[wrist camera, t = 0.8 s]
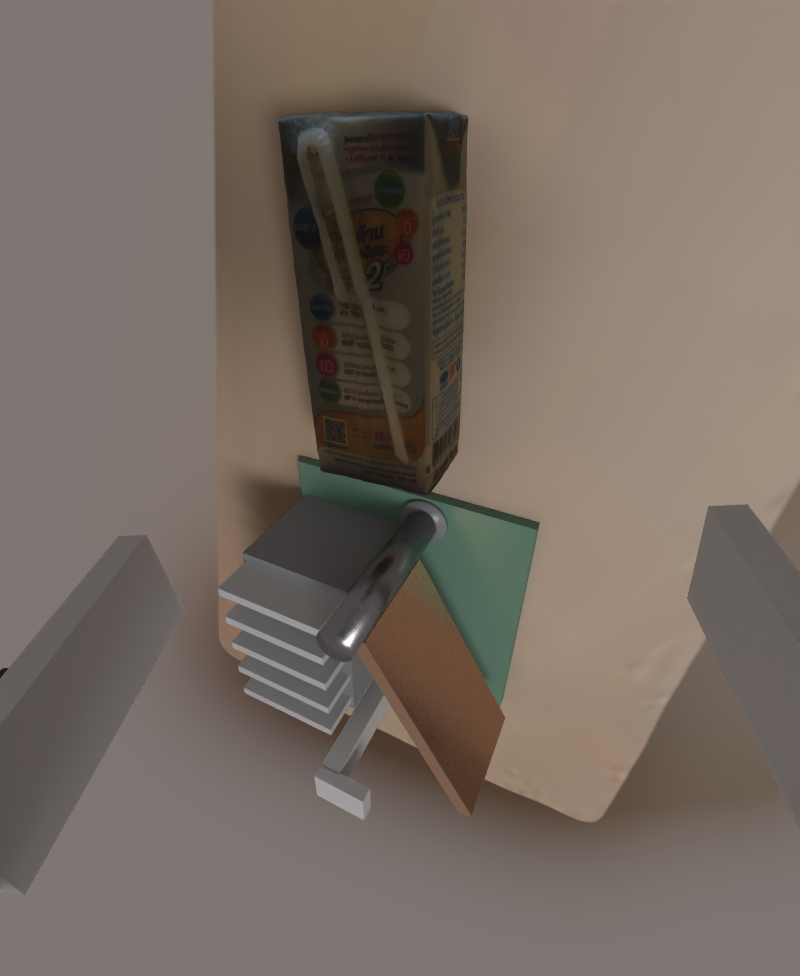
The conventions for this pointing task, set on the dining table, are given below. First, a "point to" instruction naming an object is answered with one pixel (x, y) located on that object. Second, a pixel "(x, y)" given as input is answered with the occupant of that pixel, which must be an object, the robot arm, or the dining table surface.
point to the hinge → (419, 662)
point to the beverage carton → (380, 287)
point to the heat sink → (329, 578)
